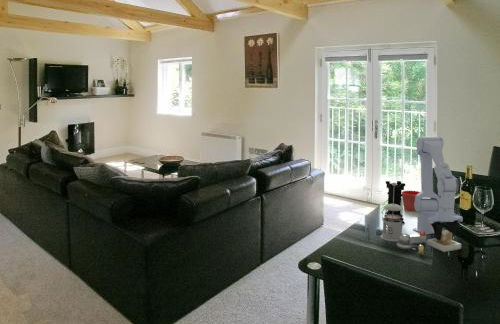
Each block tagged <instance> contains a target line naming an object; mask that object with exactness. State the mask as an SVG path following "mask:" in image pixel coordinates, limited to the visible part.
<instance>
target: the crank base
mask: <svg viewBox="0 0 500 324" xmlns="http://www.w3.org/2000/svg"><path fill="white" fill-rule="evenodd" d="M396 247H397V248H398V249H401V250H414V251H416V250H417V248H414V247H413V243H410V244H401V243H399V241H396ZM417 251H418V252H417V254H418V255H420V256H422V255H424V245H423V244H418V250H417Z"/></svg>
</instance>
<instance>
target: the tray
mask: <svg viewBox="0 0 500 324" xmlns="http://www.w3.org/2000/svg"><path fill="white" fill-rule="evenodd" d="M426 246H429V247H432V248H434V249H436V250H438V251H441V252H443V253H446V252H451V251H457V250H461V249H462V243H460V242H458V241H455V240H453V239H452V244H451V245H445V246H444V245H441V244H439V243H437V239H436V237H435V238H430V239H429V238H428V239H426Z"/></svg>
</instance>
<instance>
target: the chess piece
mask: <svg viewBox="0 0 500 324" xmlns="http://www.w3.org/2000/svg"><path fill="white" fill-rule="evenodd" d="M392 183H393V182H391V181H390V180H385V184H386V189H388V192H387V193H386V194H387V197H388V198H387V205H388V204H393V193H394V204H397V205H399V206H401V207H402V196H403V195H402V192H403V191H405V187H406V183H405V182H403V183H402V181H401V180H396V186H394V185H392ZM387 211H388V212H386V211H385V212H386V215H387V214H393V215H399V216H401V220H402V225H404V224H405V221H404V219H405V218H404V217H403V216H404V215H403V214H402V213H401V212H402V210H401V211H390V210H387ZM384 218H385V217H383V219H384ZM386 221H387V222H388V219H387V220H386ZM394 222H400V221H394Z"/></svg>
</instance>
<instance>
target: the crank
mask: <svg viewBox="0 0 500 324" xmlns="http://www.w3.org/2000/svg"><path fill="white" fill-rule="evenodd" d="M399 243H401V244H410V243H412V244H419V243H427V234H425V232H424V231H420V232H418V234H407V233H401V234H400V238H399Z"/></svg>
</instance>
